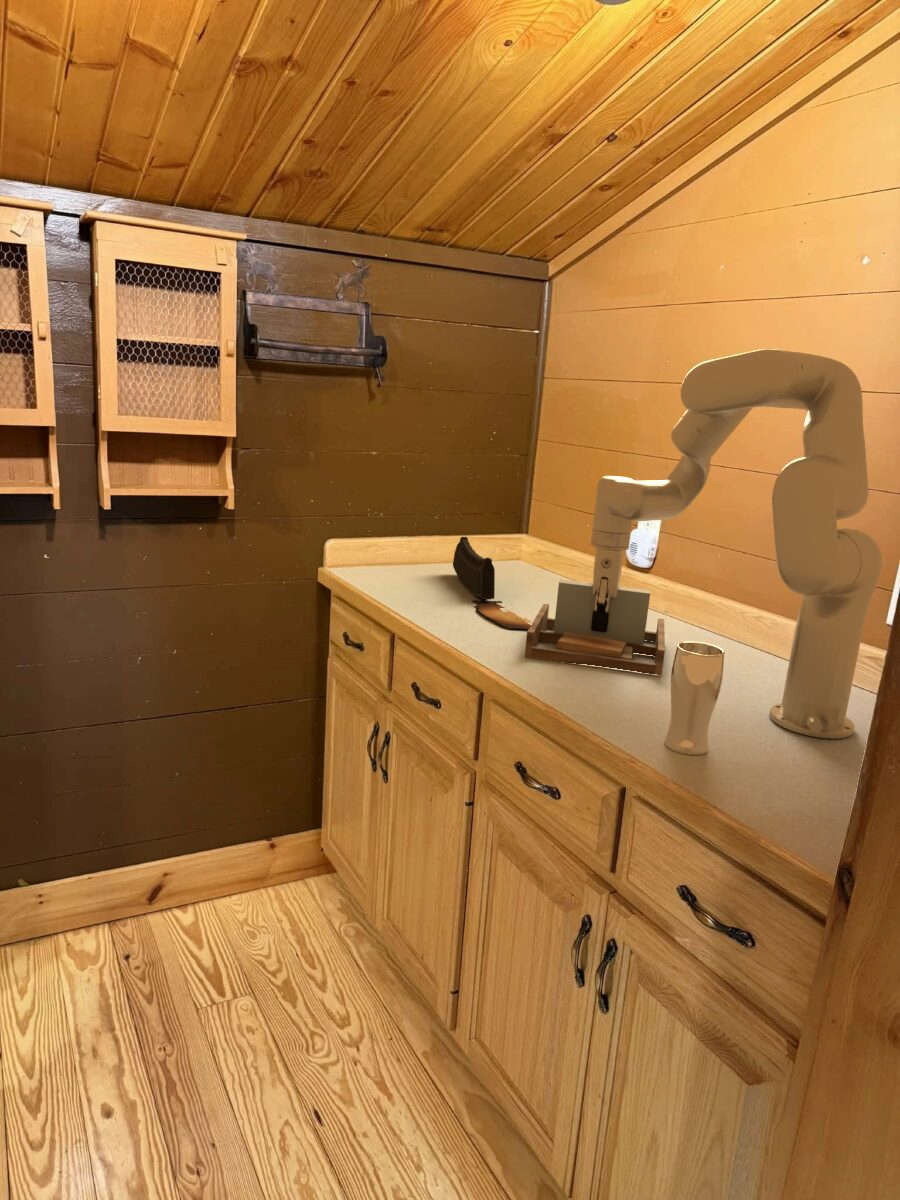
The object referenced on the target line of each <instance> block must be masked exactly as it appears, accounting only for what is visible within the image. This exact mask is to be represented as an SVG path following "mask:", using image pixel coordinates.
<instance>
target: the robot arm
mask: <svg viewBox="0 0 900 1200" xmlns="http://www.w3.org/2000/svg"><path fill="white" fill-rule="evenodd" d="M680 399H681V402H682V403H681V404H683V406H684V408H685V409H687V410H685V412H684V414H683V415H682V416H681V418H680V419H678V421H677V423H676V424H675V425H674V427H673V428H672V430H671V433H670V438H671V441H672V443H673V445H674V447H676V449H677V451H679V452H680V453H681V457H680V459H679V461H678V463H677V464H676V465H675V467H674V468H673V470H672V471H671V472H670V473H669V475H668V476H667V477H666V478H665V479H664V480H661V479H659V480H656V479H655V480H649V479H648V480H634V479H632V478H630V477H627V476H619V475H605V476H601V478H599V480H598V481H597V487H596V493H595V495H596V496H595V502H594V503H595V504H594V510H593V511H594V512H593V520H592V529H591V537H590V538H591V539H590V543H589V544H590V546H591V547H593V548H595V555H594V556H595V557H594V565H593V573H592V574H593V575H592V577H593V578H592V583H593V596H594V597H595V596H596V597H595V607H594V611H593V615H592V623H591V630H592V631H598V632H607V627H608V619H609V613H608V608H609V600H610V597H612V598H614V599H613V600H615V599H617V597H618V590H619V587H620V584H621V583H620V582H621V577H622V569H623V568H622V567H623V557H624V556H623V555H624V551H627V550H629V549H630V543H631V541H630V540H631V533H632V525H633V522H650V521H667V520H668V521H669V520H671V519H674V518H676V517H679V515H681V514H683V512H685V510H687V508H688V507H689V506H690V505H692V503H693V502H694V500H695V499H696V498H697V497H698V496H699V495H700V493H701V492H702V490H703V489H704V487H706V486H705V485H706V484H707V480H708V478H709V475H710V474H709V473H710V470H711V460H712V458H713V457H714V455H715V454H716V453H717V452H718V450H719V449H720V448H721V447H722V445H723V444H724V443H725V442H726V440H727V439H729V437H730V435H732V434H733V432H734V431H735V430H736V429H737V428H738V426H739V425H740V424H741V423H742V422H743V420H744V419H745V418H746V416H747V415H748V414H749V413H750V411H751V410H752V409H753V408H759V407H760V408H763V407H764V408H769V407H770V408H780V409H795V410H796V409H798V410H805V411H806V412H807V415H806V418H805V420H804V424H803V430H802V444H803V457H800V458H796V459H794V460H792V461H790V462H789V463H787V464H786V465H785V466H783V468H782V470H781V471H779V472H778V475H777V477H776V479H775V481H774V484H773V488H772V496H771V506H772V509H771V511H772V522H773V534H774V549H775V559H776V560H775V561H776V567H777V571H778V573H779V576H780V578H781V580H782V582H783V583H784V585H786V587H787V588H788V589H790V591H792V592H794V593H796V594H798V595H802V596H803V597H802V600H801V604H800V606H799V610H798V612H797V618H796V624H795V629H794V633H793V637H792V638H793V639H792V644H791V649H790V650H791V651H790V656H789V661H788V667H787V673H786V678H785V683H784V690H783V695H782V699H781V703H777V704H774V705H772V706H771V707H770V709H769V717H770V719H771V720H772V722H773V723H775V724H777V725H778V726H779V727H782V728H784V729H786V730H789V731H791V732H795V733H797V734H801V735H805V736H809V737H813V738H821V739H832V740H835V739H845V738H849V737H851V736H852V735H853V734H854V732H855V728H856V726H855V724H854V722H852V720H851V719H849V718H848V717H846V716H847V711H848V705H849V700H850V696H851V693H852V692H851V691H852V686H853V682H854V676H855V672H856V671H855V670H856V666H857V660H858V656H859V652H860V647H861V641H862V636H863V632H864V628H865V622H866V618H867V614H868V611H869V606H870V603H871V600H872V598H873V594H874V593H875V590H876V587H877V584H878V582H879V580H880V579H879V578H880V575H881V572H882V567H883V566H882V565H883V558H882V557H883V556H882V553H881V552H882V551H881V549H880V547H879V544H877V542H876V541H875V540H874V539H873V538H872V537H871V536H870V535H869V534H867V533H865V532H863V531H862V530H857V529H853V528H838V521H840V520H844V519H849V518H852V517H854V516H855V515H857V514H859V513H860V512H861V511H862V510H863V509H864V507H865V506H866V504H867V501H868V498H869V481H868V468H867V467H868V465H867V454H866V453H867V451H866V441H865V440H866V439H865V430H864V422H863V421H864V415H863V413H864V411H863V409H864V408H863V406H864V405H863V392H862V387H861V383H860V381H859V379H858V377H857V375H856V374H855V372H854V371H853V370H852V369H851V368H850V367H849V366H848V365H846V364H845V363H843V362H841V361H838V360H836V359H833V358H831V357H826V356H823V355H818V354H817V355H816V354H811V353H804V352H798V351H790V350H785V349H777V348H776V349H775V348H774V349H773V348H765V349H758V350H753V351H752V350H751V351H748V352H743V353H739V354H733V355H729V356H724V357H720V358H715V359H710V360H707V361H703V362H701V363H699V364H697V365H695V366H693V368H691V369H690V370H689V371H688V373H687V374H686V375H685V377H684V379H683V380H682V383H681V385H680ZM607 585H608V586H607ZM608 592H609V593H608ZM598 594H599V596H598ZM606 595H608V597H606ZM598 600H599V601H598ZM605 601H607V602H605Z"/></svg>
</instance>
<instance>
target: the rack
mask: <svg viewBox="0 0 900 1200" xmlns="http://www.w3.org/2000/svg"><path fill="white" fill-rule="evenodd" d="M549 608H550V604H548V603H543V604H542V606H541V608H540V610H539V611H538V612H537V614H536V616H535V617H534V619H533V621H532V622H533V623H532V625H531V626H530V628H529V630H528V629H527V632H526V640H525V649H524V651H525V652H524V658H526V657H527V658H528V659H533V658H534V659H535V660H540V659H541V660H542V661H548V662H556V663H561V662H564V663H563V664H568V663H576V664H587V665H595V666H602V667H609V668H617V669H623V670H630V671H637V672H642V673H649V674H657V675H661V676H662V674H663V667H664V660H665V652H666V641H665V640H666V638H665V637H666V636H665V619H664V618H658V619H657V626H656V630H655V631H649V630H645V636H644V640H647V641H653V642H655V643H654V645H650V644H648V645H647V644H635V643H628V642H626V646H628V647H632V653H639V654H646V655H653V656H655V657H654V662H648V661H641V660H640V661H639V660H627V659H620V658H613V657H606V656H599V655H591V654H584V653H577V652H570V651H563V650H558V649H554V648H547V647H541V646H539V643H540V641H541V643H548V644H554V645H555V644H556V645H558V641H559V639H560V638H561V637H562V636H563V634H562V633H554V631H553V632H552V631H547V629H548V628H550V629H549V630H554V623H555V618H552V617H551V618H550V617H549V611H550V609H549ZM545 629H546V630H545ZM534 659H533V660H534Z"/></svg>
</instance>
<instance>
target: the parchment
mask: <svg viewBox="0 0 900 1200" xmlns="http://www.w3.org/2000/svg"><path fill="white" fill-rule="evenodd" d="M471 603H473V604H477V605H476V606H475V605H474V608H475V612H477V611H478V612H479V613H481V614H482V615H483V616H484V617H485V618H489V619H490V620H491V621H494V622H496V623H497V624H499V625H501V626H502V627H504V628H505V629H507V630H510V629H520V630H521V629H522V630H523V629H524V630H527V631H528V630H529V628H530V626H531V625H530V624H531V623H530V622H532V621H531V620H530V619H529V620H528V618H527V617H525V618H524V619H523V618H522V617H519V616H517V615H516V614H517V613H516V612H513V611H510V610H509V611H507V612H503V611H502V610H503V609H501V610H500V608H505V606H502V604H503V601H502V600H498V601H497V600H487V599H481V600H476V599H475V600H474V599H473V600H472V601H471ZM500 604H501V605H500ZM515 613H516V614H515ZM528 623H530V624H528Z"/></svg>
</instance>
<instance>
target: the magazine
mask: <svg viewBox="0 0 900 1200" xmlns="http://www.w3.org/2000/svg"><path fill="white" fill-rule="evenodd" d="M452 567H453V569H454V571H455V574H456V576H457V577H458V579H459V581H460V583H461V584H462V585H463V587H464V588H465V589H466V590H467V591H468V592H469V593H470V594H472V595H473V596H476V597H479V598H480V599H481V600H494V599H495V583H496V581H495V577H496V576H495V571H496V569H495V567H494V565H493V559H492V558H490V557H486V558H484V557H483V556H481V555H479V554H478V553H477V552H476V551H475V550H474V549H473V547H472V545H471V543H470V542H469V539H468V536H460V539H459V542H458V543H457V545H456V547H455V550H454V554H453V560H452Z"/></svg>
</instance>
